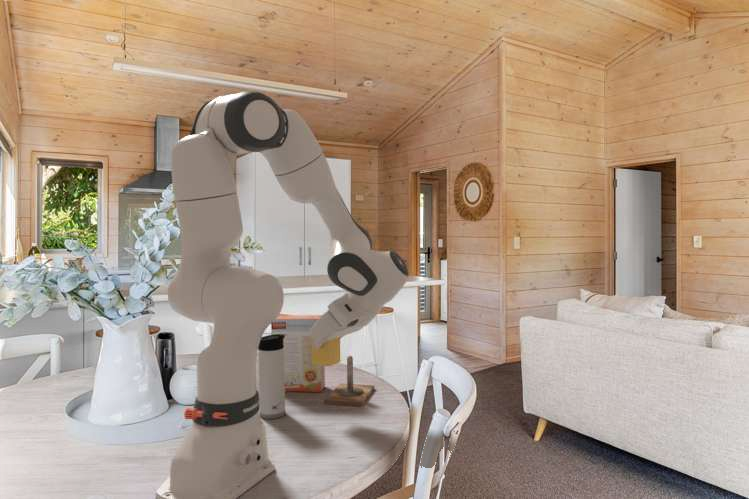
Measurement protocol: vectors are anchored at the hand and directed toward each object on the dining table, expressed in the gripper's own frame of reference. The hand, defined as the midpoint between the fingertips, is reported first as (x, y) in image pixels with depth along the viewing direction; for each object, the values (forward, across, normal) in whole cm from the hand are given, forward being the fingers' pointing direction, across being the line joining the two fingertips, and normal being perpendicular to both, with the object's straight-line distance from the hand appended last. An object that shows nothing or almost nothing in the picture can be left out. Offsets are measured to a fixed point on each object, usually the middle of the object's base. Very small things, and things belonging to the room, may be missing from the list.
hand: (324, 344), depth 129 cm
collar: (+3, 0, +4) cm, 5 cm away
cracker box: (+24, -12, 0) cm, 27 cm away
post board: (+12, -14, +12) cm, 22 cm away
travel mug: (+20, +7, +5) cm, 22 cm away
